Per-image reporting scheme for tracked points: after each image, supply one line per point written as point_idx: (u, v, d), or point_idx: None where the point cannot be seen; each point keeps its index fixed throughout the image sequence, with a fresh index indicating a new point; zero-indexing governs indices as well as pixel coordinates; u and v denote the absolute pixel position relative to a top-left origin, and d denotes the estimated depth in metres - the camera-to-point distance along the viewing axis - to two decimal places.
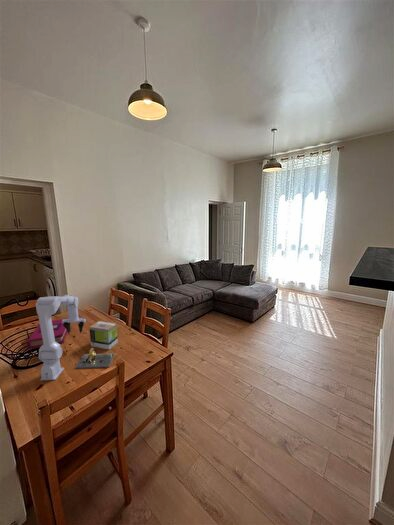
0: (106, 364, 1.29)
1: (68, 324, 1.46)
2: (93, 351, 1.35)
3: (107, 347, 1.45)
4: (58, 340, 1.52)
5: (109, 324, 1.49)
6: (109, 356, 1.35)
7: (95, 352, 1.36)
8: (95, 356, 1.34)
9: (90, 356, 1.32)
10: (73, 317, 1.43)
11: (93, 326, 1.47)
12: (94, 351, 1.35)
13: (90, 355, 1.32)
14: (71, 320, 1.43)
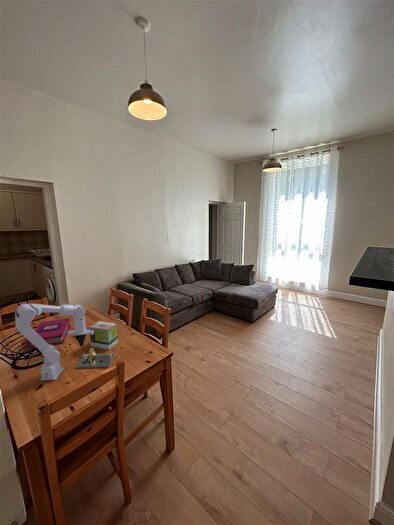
0: (106, 364, 1.29)
1: None
2: (93, 351, 1.35)
3: (107, 347, 1.45)
4: (58, 340, 1.52)
5: (109, 324, 1.49)
6: (109, 356, 1.35)
7: (95, 352, 1.36)
8: (95, 356, 1.34)
9: (90, 356, 1.32)
10: (80, 329, 1.28)
11: (93, 326, 1.47)
12: (94, 351, 1.35)
13: (90, 355, 1.32)
14: (78, 332, 1.28)
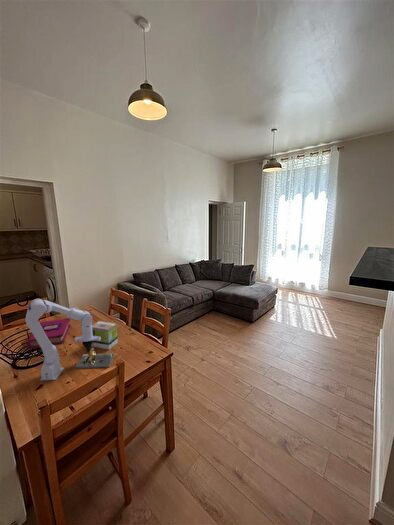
0: (106, 364, 1.29)
1: None
2: (93, 351, 1.35)
3: (107, 347, 1.45)
4: (58, 340, 1.52)
5: (109, 324, 1.49)
6: (109, 356, 1.35)
7: (95, 352, 1.36)
8: (95, 356, 1.34)
9: (90, 356, 1.32)
10: (87, 335, 1.29)
11: (93, 326, 1.47)
12: (94, 351, 1.35)
13: (90, 355, 1.32)
14: (85, 339, 1.29)
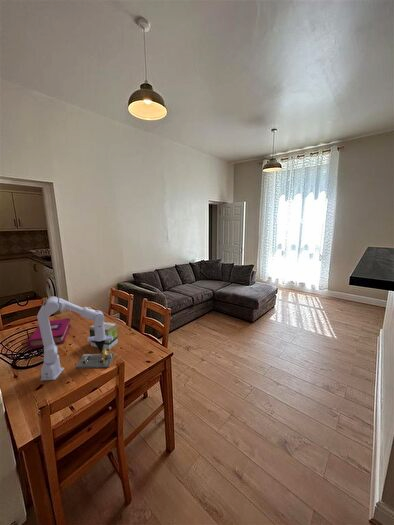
0: (106, 364, 1.29)
1: None
2: (105, 351, 1.35)
3: (107, 347, 1.45)
4: (59, 340, 1.52)
5: (109, 324, 1.49)
6: (109, 356, 1.35)
7: (107, 352, 1.37)
8: (95, 356, 1.34)
9: (103, 356, 1.33)
10: (100, 335, 1.30)
11: (93, 326, 1.47)
12: (106, 351, 1.36)
13: (103, 355, 1.33)
14: (98, 338, 1.30)
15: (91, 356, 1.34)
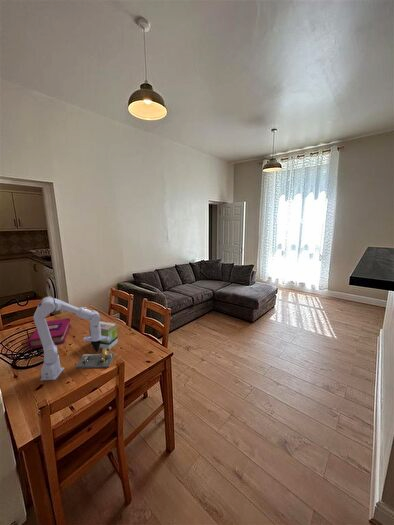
0: (106, 364, 1.29)
1: None
2: (105, 351, 1.35)
3: (107, 347, 1.45)
4: (59, 340, 1.52)
5: (109, 324, 1.49)
6: (109, 356, 1.35)
7: (107, 352, 1.37)
8: (95, 356, 1.34)
9: (103, 356, 1.33)
10: (96, 335, 1.29)
11: None
12: (106, 351, 1.36)
13: (103, 355, 1.33)
14: (94, 338, 1.29)
15: (91, 356, 1.34)
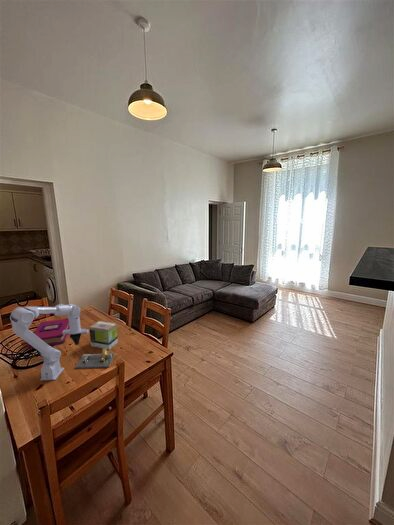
0: (106, 364, 1.29)
1: None
2: (105, 351, 1.35)
3: (107, 347, 1.45)
4: (59, 340, 1.52)
5: (109, 324, 1.49)
6: (109, 356, 1.35)
7: (107, 352, 1.37)
8: (95, 356, 1.34)
9: (103, 356, 1.33)
10: (75, 328, 1.28)
11: (93, 326, 1.47)
12: (106, 351, 1.36)
13: (103, 355, 1.33)
14: (72, 331, 1.28)
15: (91, 356, 1.34)
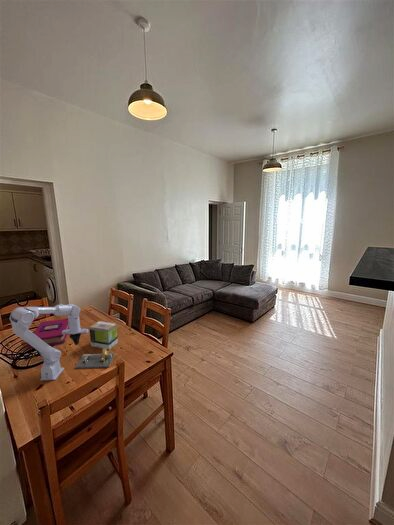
0: (106, 364, 1.29)
1: None
2: (105, 351, 1.35)
3: (107, 347, 1.45)
4: (59, 340, 1.52)
5: (109, 324, 1.49)
6: (109, 356, 1.35)
7: (107, 352, 1.37)
8: (95, 356, 1.34)
9: (103, 356, 1.33)
10: (74, 328, 1.28)
11: (93, 326, 1.47)
12: (106, 351, 1.36)
13: (103, 355, 1.33)
14: (72, 331, 1.28)
15: (91, 356, 1.34)
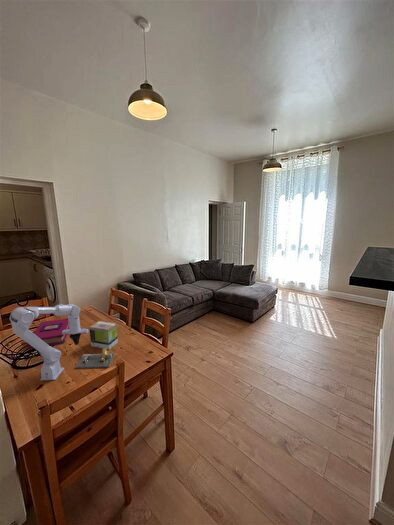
0: (106, 364, 1.29)
1: None
2: (105, 351, 1.35)
3: (107, 347, 1.45)
4: (59, 340, 1.52)
5: (109, 324, 1.49)
6: (109, 356, 1.35)
7: (107, 352, 1.37)
8: (95, 356, 1.34)
9: (103, 356, 1.33)
10: (74, 328, 1.28)
11: (93, 326, 1.47)
12: (106, 351, 1.36)
13: (103, 355, 1.33)
14: (72, 331, 1.28)
15: (91, 356, 1.34)
